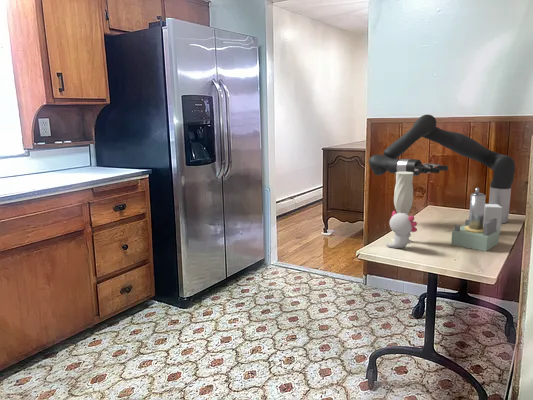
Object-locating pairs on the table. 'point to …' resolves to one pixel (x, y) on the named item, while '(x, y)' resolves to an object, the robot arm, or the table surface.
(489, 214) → the supplement box
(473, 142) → the robot arm
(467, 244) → the green and yellow block
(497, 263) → the table surface
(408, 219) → the toy
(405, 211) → the vase
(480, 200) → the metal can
